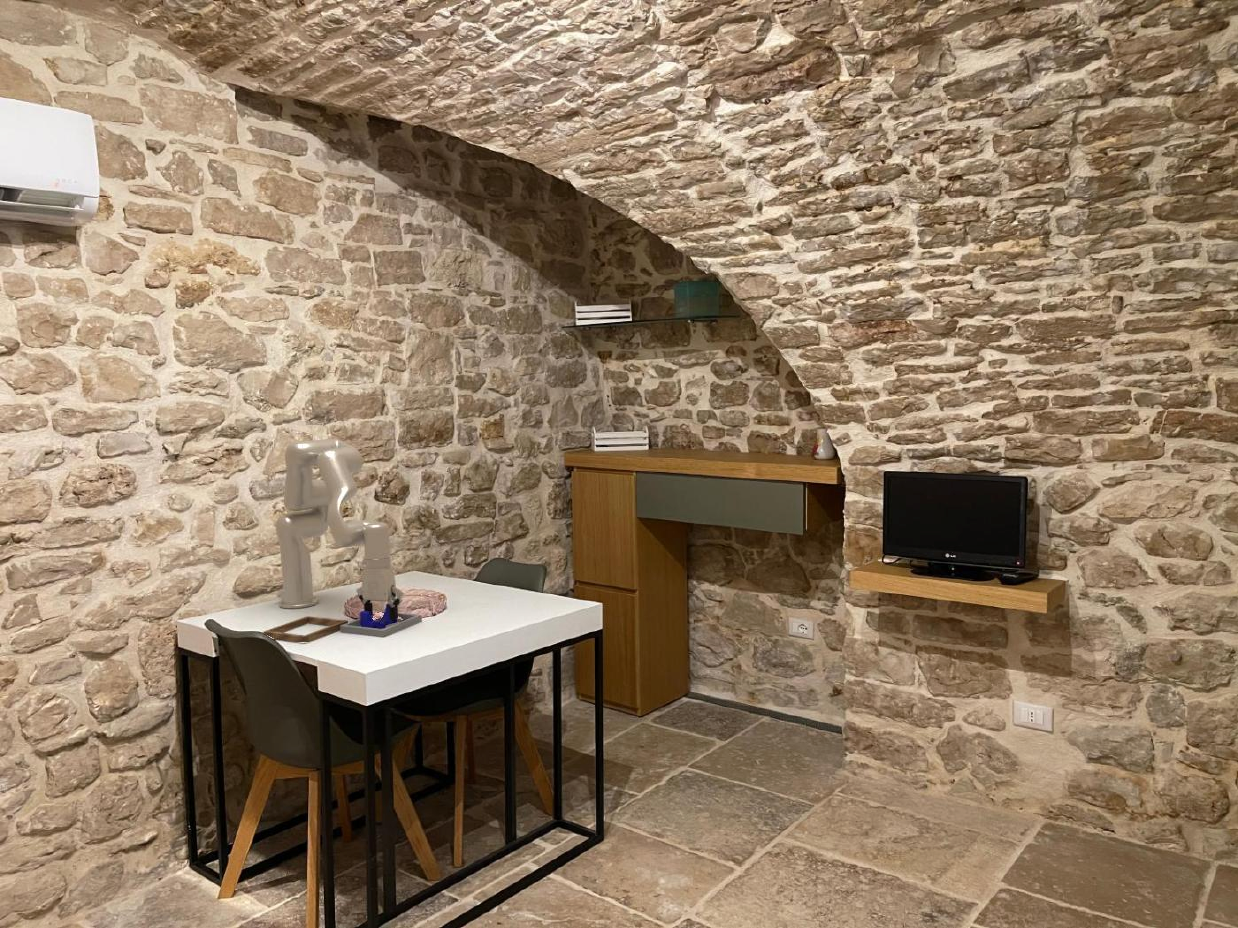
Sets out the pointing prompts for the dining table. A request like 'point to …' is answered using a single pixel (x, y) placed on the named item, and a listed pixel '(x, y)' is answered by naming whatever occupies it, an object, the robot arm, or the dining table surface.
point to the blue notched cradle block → (380, 624)
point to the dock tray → (355, 629)
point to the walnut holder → (279, 631)
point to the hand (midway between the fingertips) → (381, 617)
